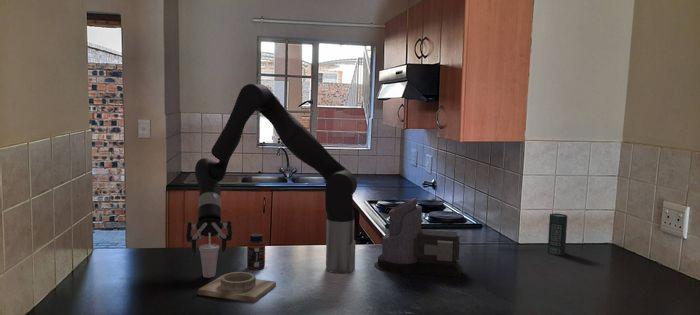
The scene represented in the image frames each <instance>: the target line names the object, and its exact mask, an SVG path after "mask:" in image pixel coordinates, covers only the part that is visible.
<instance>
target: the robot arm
mask: <svg viewBox="0 0 700 315" xmlns="http://www.w3.org/2000/svg"><path fill="white" fill-rule="evenodd" d="M255 112H259V113H260V114H261V115H262V116H264V118H266V119H267V120H268V122H269V123H270V124H271V125H272V126H273V128H274V130H275V131H276V132H275V133H276V134H277V136H278V138H279V140H280V141H281V143H282V144H283V145H284V146H285V147H286V149H287V150H288V151H290V153H291V154H293V156H294V157H296V158H297V159H298V160H300V161H301V162H303V163H304V164H306V165H307V166H309V167H310V168H312V169H313V170H315V171H316V172H317V173H318V174H320V176H321V177H322V178H323V179H324V180H325V181H326V182H325V188H324V189H325V191H324V194H325V195H324V198H325V199H324V201H325V202H324V204H325V205H324V206H325V212H326V242H325V243H326V245H325V246H326V247H325V271H327V272H329V273H333V274H334V273H335V274H351V273H352V272H353V271H354V269H355V268H356V240H355V211H354V208H353V200H354V198H353V196H354V194H355V192H356V191H357V188H358V182H357V178H356V177H355V175H354V174H353V173H352V172H351V171H349V170H348V169H347V168H346V167H345V166H344V165H343V164H341V163H340V162H339V161H337V159H336V158H334V157H333V156H332V155H331V154H330V153H329V152H328V150H327V149H326V148H325V147H324V146H323V145H322V144H321V142H319V140H317V139H316V137H315V136H314V135H313V134H312V133H311V132H310V131H309V130H308V128H306V127H305V126H304V125H303V124H302V123H301V122H300V121H299V120H298V119H297V118H296V117H295V116H294V115H293V114H292V113H291V112H289V111H288V110H287V109H286V108H285V107H284V106H283V104H282V103H281V102H280V100H279V99H278V98H277V97H276V96H275V94H274V93H273V92H272V91H271V89H270V87H268V86H266V85H264V84H262V83H248V84H245V85H244V86H243V87H242V88H241V89H240V90H239V93H238V95H237V98H236V100H235V103H234V106H233V108H232V111H231V113H230V115H229V117H228V119H227V122H226V124H225V126H224V127H223V130H222V131H221V133H220V134H219V136H218V138H217V139H216V141H215V143H214V144H213V146H212V148H211V151H210V152H211V155H212V156H213V157H215V159H217V160H218V162H217V161H214V160H211V159H209V158H200V159H199V160H198V161H197V162H196V164H195V166H194V174H195V178H196V181H197V184H198V189H199V196H198V197H199V198H198V204H197V206H198V207H197V213H198V214H197V222H196V223H192V221H189V222H187V226H186V235H185V238H186V242H188V243H189V242H190V243H191V251H192V252H193V253H194V254H197V247H198V246H197V245H198V244H197V242H198V241H200V239H202V237H203V236H204V237H205V238H206V237H209V233H211V237H217V238H218V239H220V240H221V253H224V252H225V251H227V242H228V241H232V240H233V232H232V230H233V228H232V222H231V220H230V221H227V222H222V210H223V209H222V199H221V193H222V192H221V185H220V183H219V182H221V181H223V179H224V178H225V176H226V173H227V169H228V165H229V162H230V160H231V157H232V155H233V154H234V153H235V150H236V149H237V147H238V145H239V143H240V141H241V139H242V135H243V131H244V128H245V126H246V124H247V122H248V120H249V119H250V118H251V117H252V115H253V114H254V113H255ZM223 228H224V229H225V231H227V235H226V234H225V233H224V232H223V230H222V229H223ZM195 229H196V230H197V231H196V232H195V234H194V235H193V236H192V232H193V231H194V230H195Z"/></svg>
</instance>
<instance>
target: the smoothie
mask: <svg viewBox="0 0 700 315" xmlns="http://www.w3.org/2000/svg"><path fill="white" fill-rule="evenodd" d="M211 237H212V236H211V233H209V236H208V243H204V244H200V245H198V251H199V252H200V261H201V262H200V263H201V269H202V276H203V278H208V279H211V278H214V277H215V276H216V271H217V264H218V256H219V250H220V245H219V244H217V243H212V242H211V241H212V240H211Z"/></svg>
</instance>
